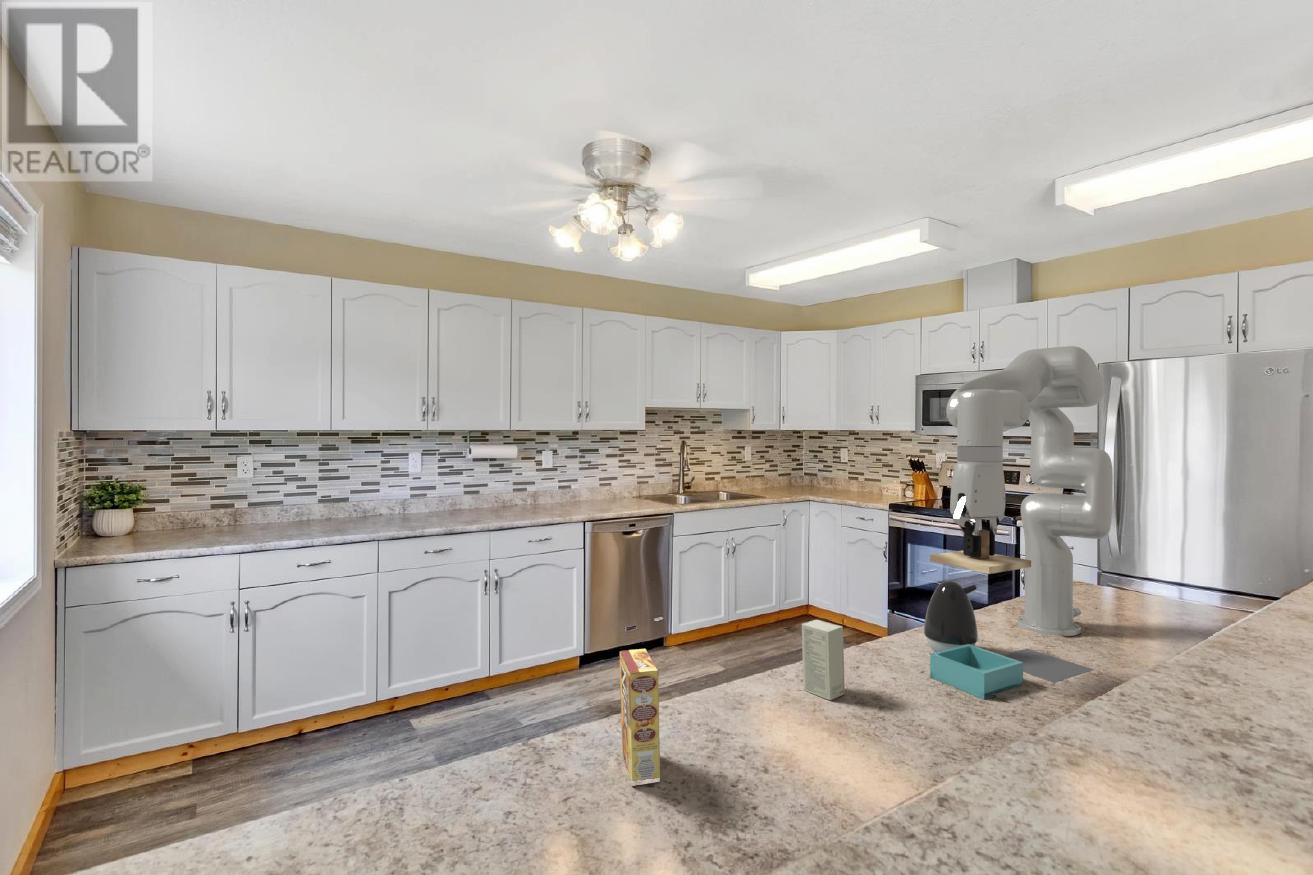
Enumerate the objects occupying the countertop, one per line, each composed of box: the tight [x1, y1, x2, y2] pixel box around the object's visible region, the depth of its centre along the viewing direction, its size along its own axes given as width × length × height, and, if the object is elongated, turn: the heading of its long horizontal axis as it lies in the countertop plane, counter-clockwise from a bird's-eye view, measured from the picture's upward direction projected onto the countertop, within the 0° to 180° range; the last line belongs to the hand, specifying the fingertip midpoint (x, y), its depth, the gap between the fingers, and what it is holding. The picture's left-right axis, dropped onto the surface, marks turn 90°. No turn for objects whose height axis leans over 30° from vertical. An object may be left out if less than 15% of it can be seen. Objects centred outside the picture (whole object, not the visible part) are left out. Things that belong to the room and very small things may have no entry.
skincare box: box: [801, 619, 846, 701], centre depth 112 cm, size 6×4×12 cm
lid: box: [929, 529, 1031, 575], centre depth 116 cm, size 12×12×6 cm
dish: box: [929, 644, 1024, 700], centre depth 116 cm, size 11×11×4 cm
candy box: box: [619, 648, 661, 781], centre depth 87 cm, size 9×4×15 cm, turn 13°
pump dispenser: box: [923, 580, 979, 653], centre depth 131 cm, size 10×10×15 cm
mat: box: [1002, 648, 1094, 683], centre depth 124 cm, size 13×13×1 cm
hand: (979, 554), depth 116 cm, fingers closed on lid, 3 cm apart
